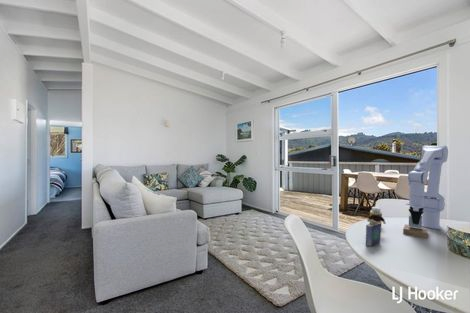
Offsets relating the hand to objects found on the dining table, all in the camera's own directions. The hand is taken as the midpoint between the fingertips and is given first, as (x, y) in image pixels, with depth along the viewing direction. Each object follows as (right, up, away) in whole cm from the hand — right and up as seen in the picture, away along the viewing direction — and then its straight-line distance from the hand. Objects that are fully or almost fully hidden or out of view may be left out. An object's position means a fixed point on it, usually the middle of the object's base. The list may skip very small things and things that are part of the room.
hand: (415, 222), depth 114 cm
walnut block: (0, -6, 0) cm, 6 cm away
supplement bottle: (-14, -5, +10) cm, 18 cm away
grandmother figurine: (-20, -5, 0) cm, 21 cm away
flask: (-29, -6, -13) cm, 33 cm away
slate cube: (0, -2, 0) cm, 2 cm away
